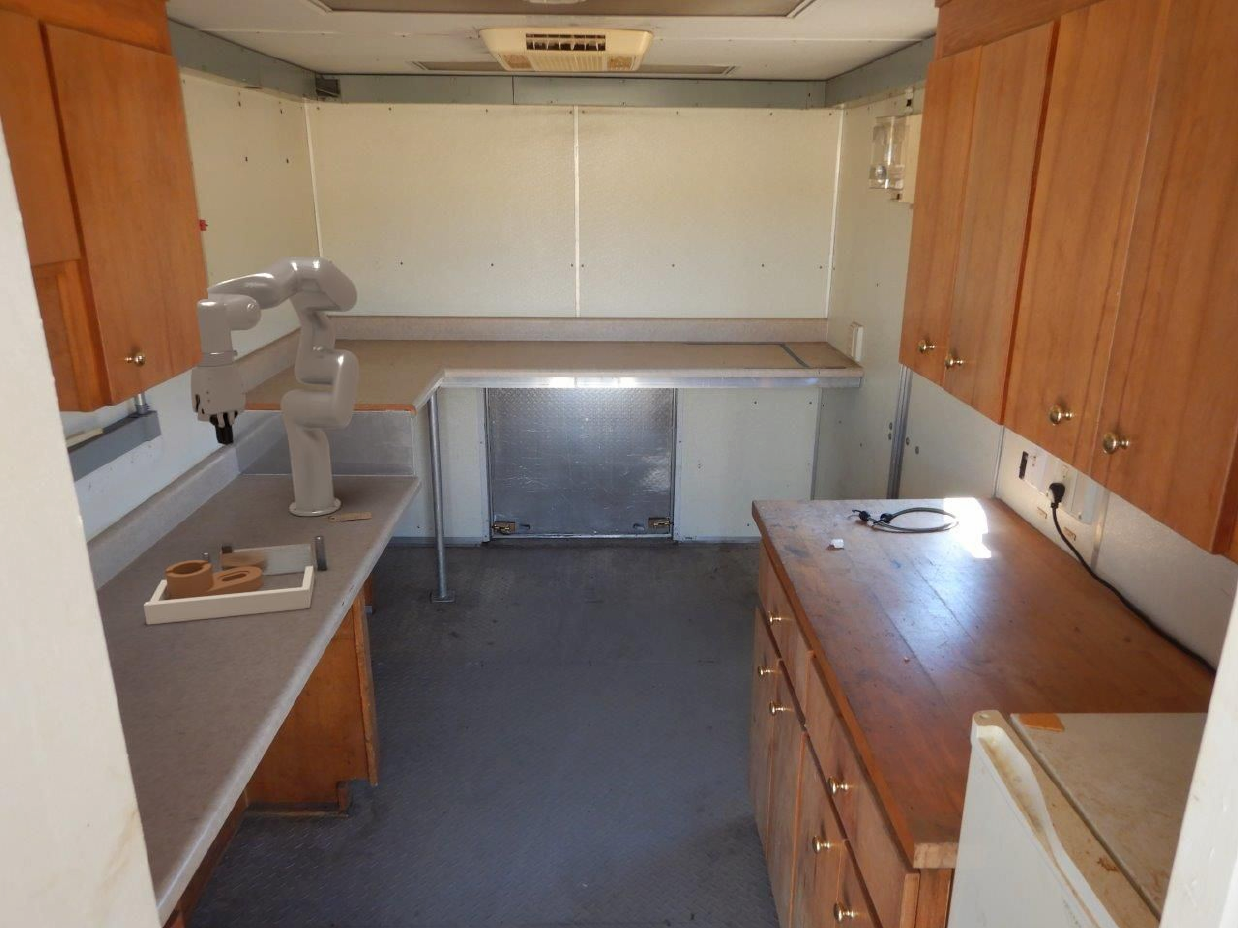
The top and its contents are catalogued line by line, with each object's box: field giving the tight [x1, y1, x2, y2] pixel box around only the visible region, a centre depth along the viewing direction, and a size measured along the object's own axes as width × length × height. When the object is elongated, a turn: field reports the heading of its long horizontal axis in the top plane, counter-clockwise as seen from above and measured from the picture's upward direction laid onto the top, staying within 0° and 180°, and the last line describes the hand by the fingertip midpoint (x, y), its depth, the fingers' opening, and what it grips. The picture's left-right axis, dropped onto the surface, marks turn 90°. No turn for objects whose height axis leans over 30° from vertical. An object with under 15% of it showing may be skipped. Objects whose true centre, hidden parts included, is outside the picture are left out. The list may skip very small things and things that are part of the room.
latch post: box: [201, 550, 214, 574], centre depth 186 cm, size 2×2×6 cm
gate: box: [219, 541, 314, 577], centre depth 188 cm, size 18×2×8 cm, turn 105°
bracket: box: [164, 559, 264, 600], centre depth 179 cm, size 18×8×7 cm, turn 130°
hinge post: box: [313, 534, 328, 572], centre depth 190 cm, size 2×2×8 cm
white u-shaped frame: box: [143, 565, 316, 625], centre depth 176 cm, size 14×30×4 cm, turn 105°
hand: (225, 443), depth 188 cm, fingers closed
